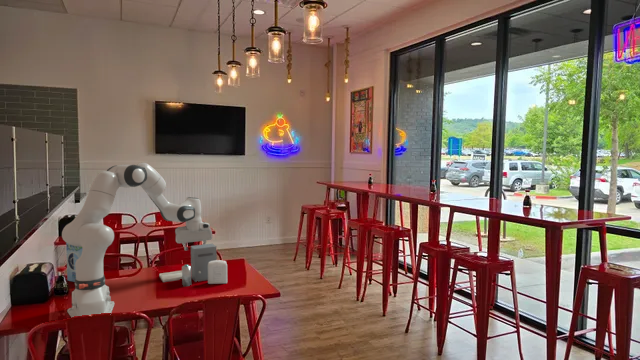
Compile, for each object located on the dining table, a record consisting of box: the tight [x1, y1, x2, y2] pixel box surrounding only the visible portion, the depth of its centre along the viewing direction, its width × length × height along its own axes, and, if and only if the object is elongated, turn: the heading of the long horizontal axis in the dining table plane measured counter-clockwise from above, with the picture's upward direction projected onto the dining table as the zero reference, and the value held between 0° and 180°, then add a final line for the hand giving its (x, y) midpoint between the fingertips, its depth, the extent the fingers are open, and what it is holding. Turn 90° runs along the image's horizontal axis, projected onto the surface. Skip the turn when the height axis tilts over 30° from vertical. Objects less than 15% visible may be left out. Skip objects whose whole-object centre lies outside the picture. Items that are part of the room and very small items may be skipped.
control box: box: [190, 243, 218, 283], centre depth 239 cm, size 9×12×18 cm
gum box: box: [65, 242, 83, 283], centre depth 233 cm, size 20×5×23 cm, turn 66°
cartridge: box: [181, 264, 192, 287], centre depth 227 cm, size 5×5×11 cm
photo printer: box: [207, 259, 228, 285], centre depth 230 cm, size 10×4×12 cm, turn 98°
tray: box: [158, 270, 182, 283], centre depth 241 cm, size 12×14×2 cm
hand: (194, 249), depth 248 cm, fingers open, 8 cm apart
